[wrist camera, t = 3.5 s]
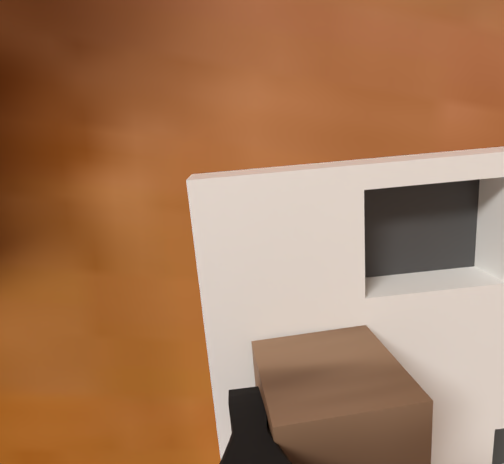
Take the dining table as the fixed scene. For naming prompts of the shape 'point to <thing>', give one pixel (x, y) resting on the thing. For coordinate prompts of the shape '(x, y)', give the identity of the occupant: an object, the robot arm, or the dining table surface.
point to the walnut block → (342, 399)
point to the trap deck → (364, 276)
